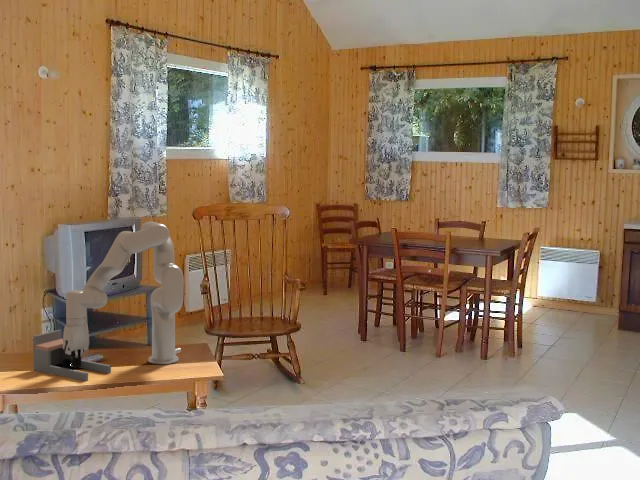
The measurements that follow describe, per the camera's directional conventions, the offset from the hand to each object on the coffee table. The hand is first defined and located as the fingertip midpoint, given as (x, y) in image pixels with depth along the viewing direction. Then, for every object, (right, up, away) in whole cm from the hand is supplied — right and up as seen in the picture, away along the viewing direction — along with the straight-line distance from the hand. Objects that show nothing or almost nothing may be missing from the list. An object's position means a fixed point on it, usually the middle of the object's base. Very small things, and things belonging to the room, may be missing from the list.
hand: (76, 366), depth 297 cm
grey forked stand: (-2, -2, +1) cm, 3 cm away
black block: (-5, -3, +4) cm, 7 cm away
